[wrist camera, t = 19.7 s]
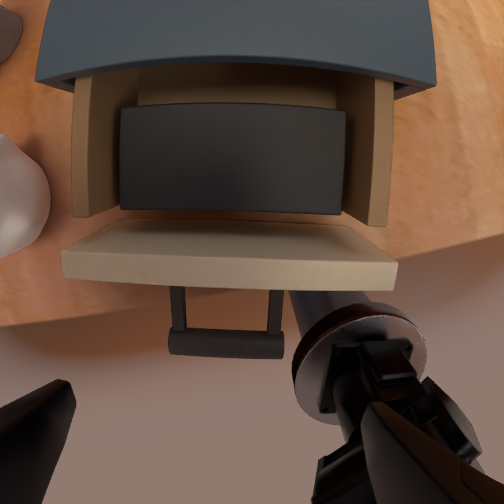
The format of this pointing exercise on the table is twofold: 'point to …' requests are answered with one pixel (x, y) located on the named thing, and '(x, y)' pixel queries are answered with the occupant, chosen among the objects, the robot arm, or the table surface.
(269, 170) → the black rectangular block
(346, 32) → the cabinet
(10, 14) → the cup
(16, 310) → the table surface
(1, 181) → the figurine
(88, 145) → the drawer
